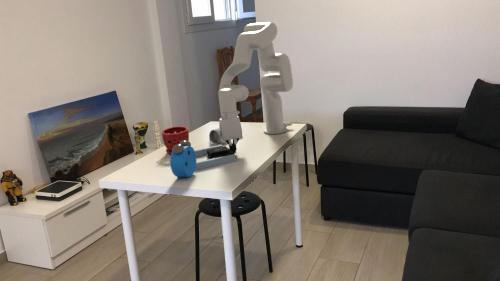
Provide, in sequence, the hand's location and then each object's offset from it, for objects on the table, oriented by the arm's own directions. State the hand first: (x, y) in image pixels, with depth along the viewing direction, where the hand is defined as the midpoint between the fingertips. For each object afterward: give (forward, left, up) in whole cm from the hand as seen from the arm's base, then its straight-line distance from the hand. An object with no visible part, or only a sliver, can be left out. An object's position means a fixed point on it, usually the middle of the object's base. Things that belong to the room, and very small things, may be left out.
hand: (233, 152), depth 214 cm
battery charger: (+7, +2, -2) cm, 7 cm away
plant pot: (+22, -22, -1) cm, 31 cm away
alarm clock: (+27, +15, -1) cm, 31 cm away
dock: (+11, 0, -1) cm, 11 cm away
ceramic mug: (-1, -26, -1) cm, 26 cm away
